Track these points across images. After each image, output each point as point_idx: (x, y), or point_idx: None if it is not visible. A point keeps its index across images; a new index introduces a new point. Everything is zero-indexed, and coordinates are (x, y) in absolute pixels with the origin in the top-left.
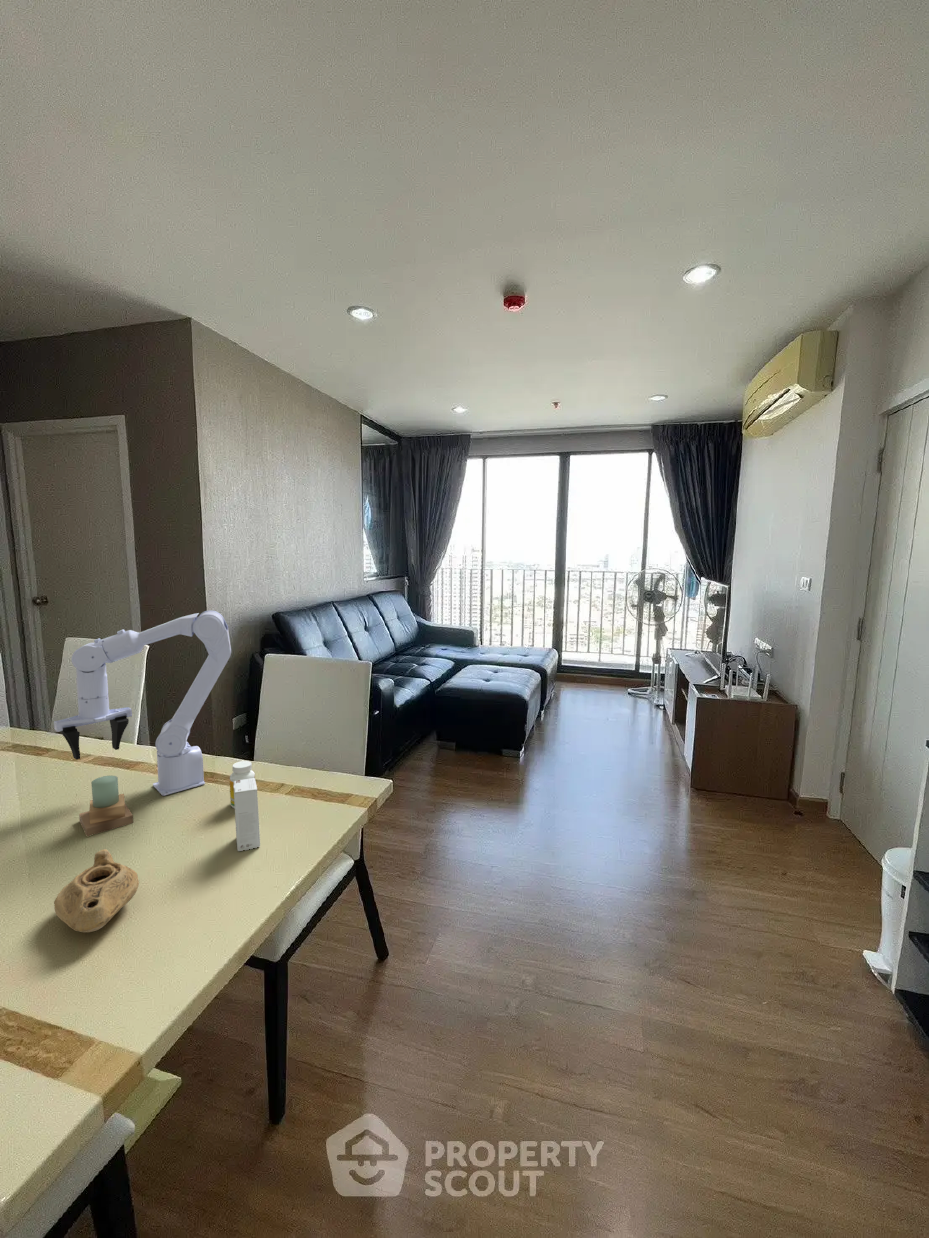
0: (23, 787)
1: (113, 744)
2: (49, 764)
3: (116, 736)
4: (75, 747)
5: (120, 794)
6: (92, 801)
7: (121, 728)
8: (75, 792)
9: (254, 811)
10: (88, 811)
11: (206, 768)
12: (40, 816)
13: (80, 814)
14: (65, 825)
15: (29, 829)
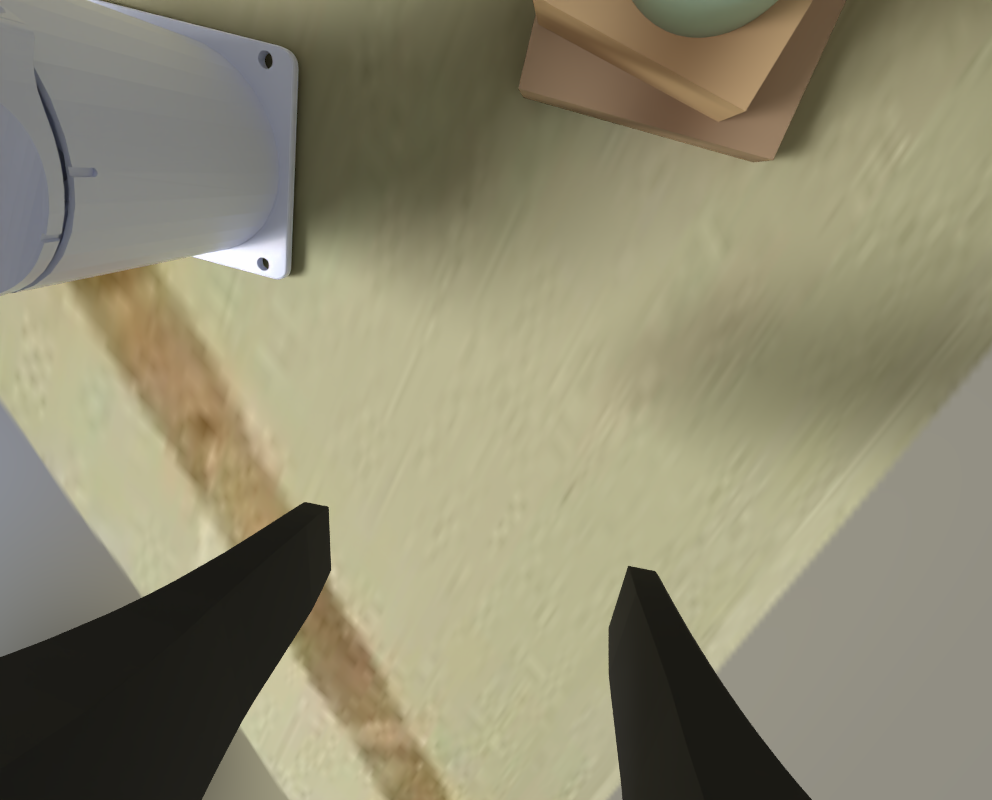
0: None
1: (310, 579)
2: (486, 784)
3: (227, 611)
4: (712, 686)
5: (556, 4)
6: (752, 66)
7: (62, 671)
8: (558, 520)
9: None
10: (726, 136)
11: None
12: (794, 413)
13: (780, 134)
14: (823, 181)
15: (929, 310)
